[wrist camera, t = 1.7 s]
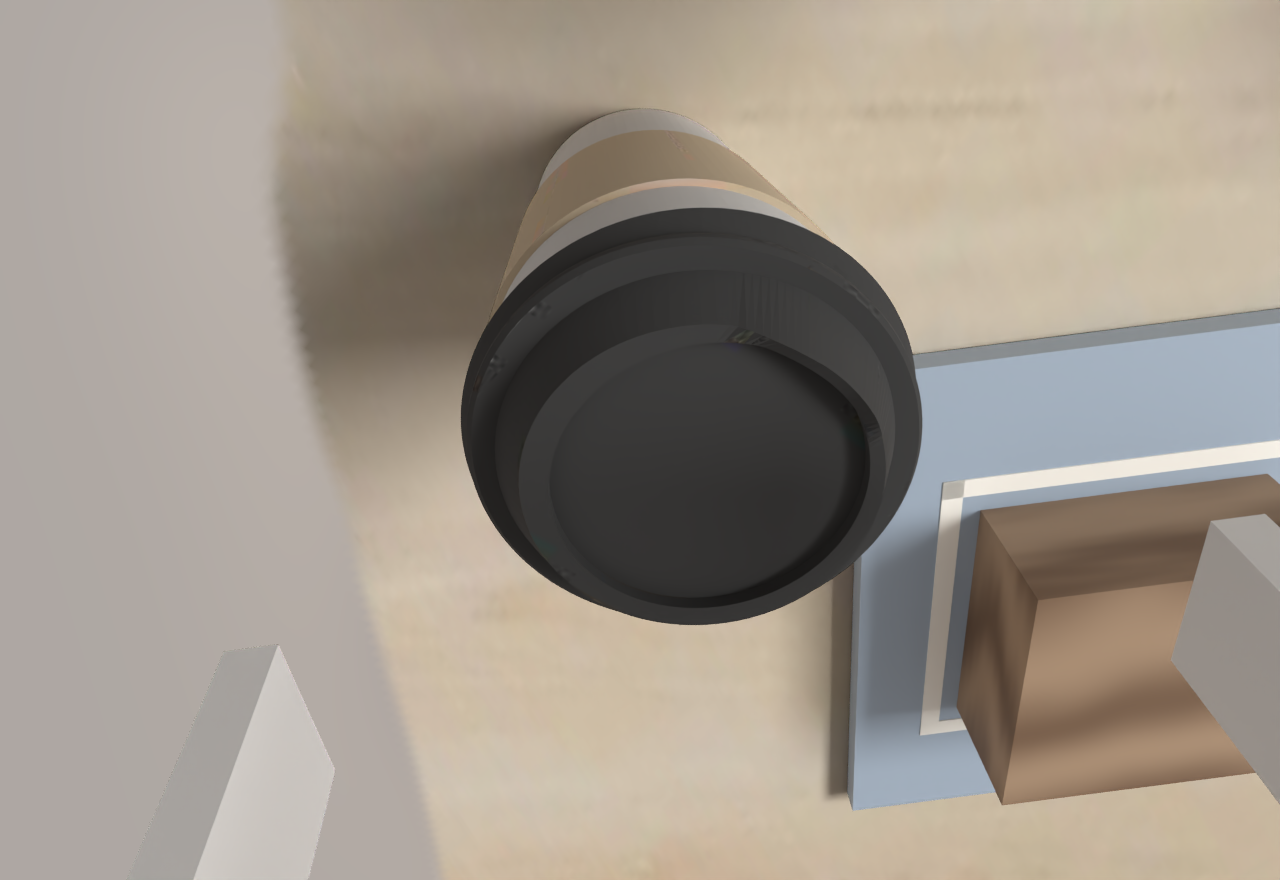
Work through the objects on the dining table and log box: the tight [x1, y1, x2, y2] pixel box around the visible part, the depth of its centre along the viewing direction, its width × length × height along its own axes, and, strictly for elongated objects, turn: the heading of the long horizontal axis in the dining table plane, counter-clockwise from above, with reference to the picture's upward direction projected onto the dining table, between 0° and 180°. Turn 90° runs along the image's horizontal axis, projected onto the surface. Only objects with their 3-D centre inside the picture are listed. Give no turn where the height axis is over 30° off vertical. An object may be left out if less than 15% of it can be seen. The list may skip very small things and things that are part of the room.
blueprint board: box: [847, 309, 1280, 811], centre depth 38 cm, size 24×20×1 cm
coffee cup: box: [461, 109, 922, 625], centre depth 22 cm, size 9×9×15 cm
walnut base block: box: [957, 474, 1280, 805], centre depth 36 cm, size 11×11×5 cm
